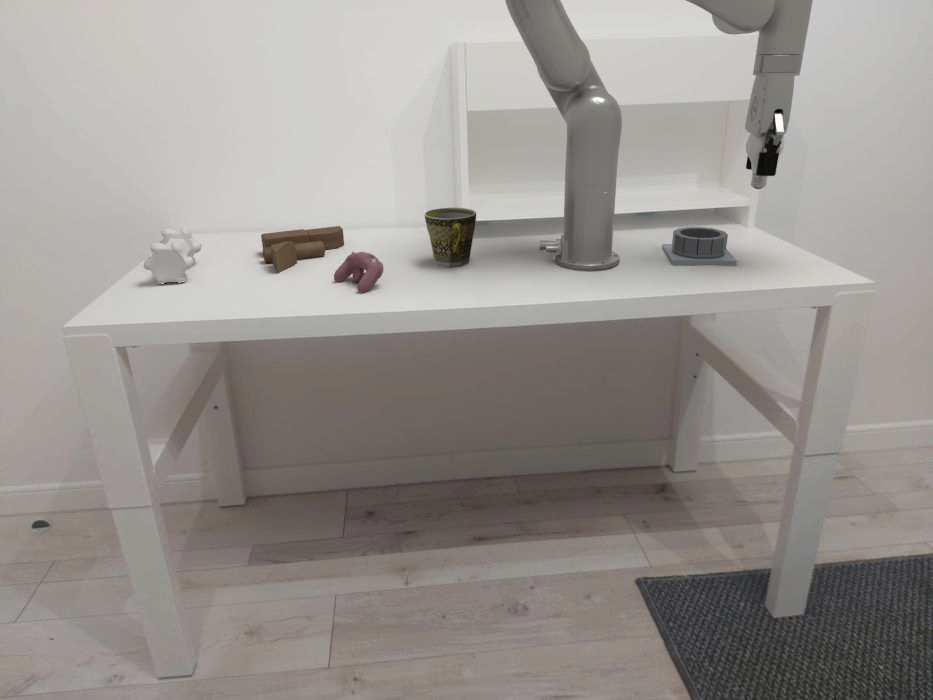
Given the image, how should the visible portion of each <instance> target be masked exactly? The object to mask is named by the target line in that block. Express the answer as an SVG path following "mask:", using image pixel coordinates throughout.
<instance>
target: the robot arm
mask: <svg viewBox="0 0 933 700" xmlns="http://www.w3.org/2000/svg"><path fill="white" fill-rule="evenodd" d="M504 1H505V4H506V7H507V11H508V13H509V15H510V17H511V20H512V21H513V23H514V24H513V25H514V26H515V27H516V29H517V31H518V33H519V36H520V37H521V40H522V41H523V44H524V45H525V47H526V49H527V51H528V53H529V54H530V56H531V58H532V60H533V62H534V65H535V66H536V69H537V73H538V76H539V78H540V79H541V81H542V82H543V84H544V86H545V87H546V90H547V91H548V94H549V95H550V97H551V99H552V101H553V102H554V104H555V106H556V107H557V110H558V111H559V113H560V114H561V116H562V119H563V120H564V122H565V124H566V146H565V165H564V166H565V167H564V170H565V171H564V172H565V173H564V203H563V205H564V206H563V227H562V229H563V230H562V231H563V232H562V233H563V234H561V235H560V238H556V239H555V240H544V239H543V240H539V251H545V253H555V254H554V262H555V263H556V264H557V265H558V266H560V267H564V268H567V269H573V270H582V271H597V270H605V269H610V268H614V267H616V266H617V265H619V264H620V255H619V254H618V253H617V252H615V251H613V239H614V238H613V237H614V224H615V223H614V222H615V221H614V220H615V208H616V207H615V206H616V192H617V191H616V190H617V178H618V176H617V175H618V161H619V151H620V143H621V136H622V127H623V118H622V110H621V107H620V104H619V103H618V101H617V100H616V99H615V97H614V96H613V95H612V94H610V93H609V92H608V90H607V88H606V87H605V85H604V82H603V81H602V79H601V77H600V75H599V72H598V71H597V69H596V67H595V65H594V63H593V61H592V60H591V55H590V51H589V49H588V47H587V45H586V44H585V43H584V41H583V40H582V38H581V37H580V36H579V34H578V32H577V30H576V28H575V26H574V24H573V22H572V21H571V19H570V18H569V15H568V14H567V12H566V9H565V7H564V4H563V3H562V1H561V0H504ZM685 1H686V2H689V3H690V4H693V5H695V6H696V7H698V8H701V9H702V10H704V11H706V12H708V13H709V14H711V19H712V22H713V24H714V26H715V27H716V29H718V30H719V31H720V32H721V33H724V34H727V35H745V34H746V35H747V34H751V33H755V32H758V38H757V43H756V44H757V46H756V50H755V51H756V52H755V59H754V63H753V70H752V75H753V76H755V78H754V81H753V85H752V89H751V94H750V98H749V103H748V108H747V114H746V119H745V125H744V129H745V130H746V132H748V133H749V134H750V135H751V134H754V135H756V136H760V135H761V134H762V133H763V136H762V152H759V158H758V165H757V171H756V175H758V176H768V177H774V176H776V174H777V168H778V162H779V157H780V156H779V152H780V144H781V143H782V142H781V141H782V138H784V136H785V134H786V133H787V131H788V127H789V124H790V123H789V122H790V117H791V111H792V104H793V96H794V88H795V77H796V76H800V74H801V69H802V63H803V58H804V53H805V49H806V41H807V36H808V30H809V24H810V19H811V13H812V8H813V1H814V0H685ZM767 132H774V134H767ZM767 139H770V140H769V141H768V144H767ZM745 169H747V170H750V171H752V168H751V161H750V159H749V157H748V156H747V157H746V164H745Z"/></svg>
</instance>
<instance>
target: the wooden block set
mask: <svg viewBox="0 0 933 700" xmlns="http://www.w3.org/2000/svg"><path fill="white" fill-rule="evenodd" d="M344 238H345V237H344V229H343V227H341V226H340V225H337V226H329V227H319V228H313V229H312V228H310V229H304V228H302V229H301V228H300V229H292V230H284V231H276V232H275V231H274V232H266V233H262V234H261V244H262V256H263V260H264V263H265V264H266V263H268V264H272V266H274V267H273V268H274V270H275V269H276V270H275V271H276V273H277V272H278V273H279V274H280V272H281V273H283V272H285V271H286V269H287V270H288V268H289V269H290V268H292V267H294V266H296V265H297V264H298V260H304V259H305V258H306V259H312V258H313V257H314V258H320V257H321V258H322V257H324V256H325V254H326V251H329V250H336V249H339V248H341V247H342V246H344V245H345V239H344ZM306 259H305V260H306ZM295 264H296V265H295ZM284 270H285V271H284ZM282 271H283V272H282ZM278 273H277V274H278Z"/></svg>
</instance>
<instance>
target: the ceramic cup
mask: <svg viewBox="0 0 933 700" xmlns="http://www.w3.org/2000/svg"><path fill="white" fill-rule="evenodd" d="M424 221H425V224H426V228H427V232H428V235H429V240H430V244H431V248H432V249H431V251H432V254H433V259H434V262H435V263H436V265H437V266H438V267H441V268H442V267H443V268H449V269H453V268H462V267H464V266H466V265H468V264H469V263H470V259H471V251H472V246H473V239H474V238H473V237H474V234H475V228H476V222H477V212H476V211H475V210H473V209H470V208H465V207H440V208H434V209H431V210H428V211H426V212H425V213H424Z"/></svg>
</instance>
